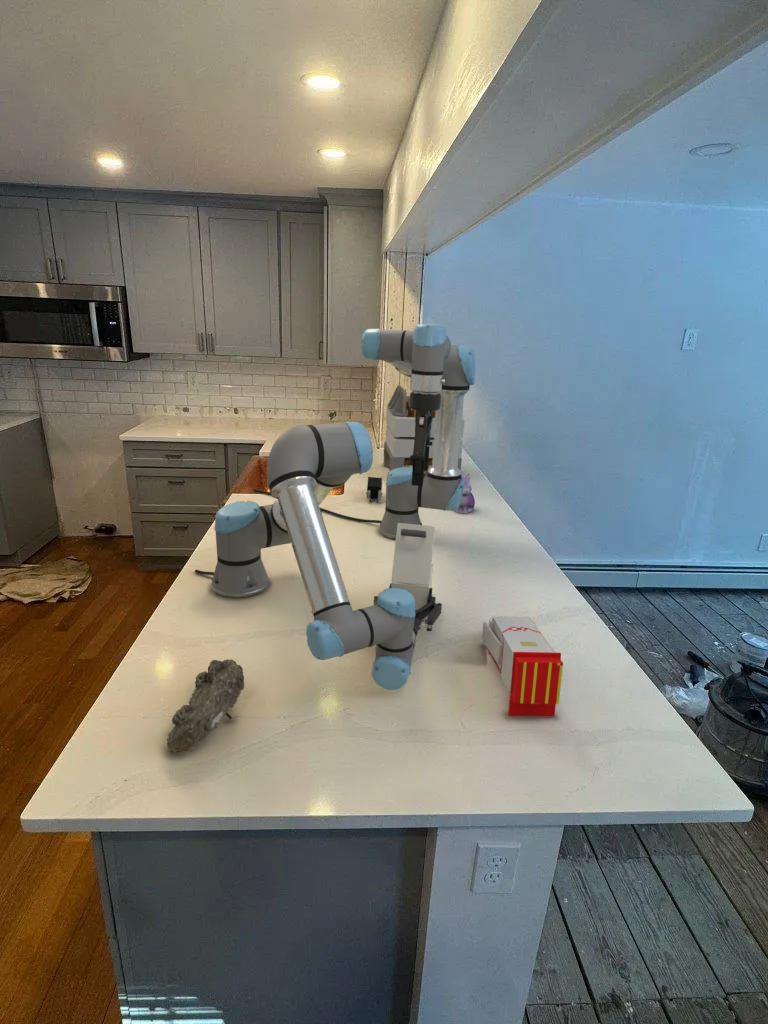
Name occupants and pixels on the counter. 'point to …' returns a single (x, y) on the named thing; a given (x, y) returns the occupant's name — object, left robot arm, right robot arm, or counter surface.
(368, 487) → the figurine character
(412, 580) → the lid
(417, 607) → the white cabinet body
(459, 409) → the right robot arm
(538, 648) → the toy
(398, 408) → the transformer
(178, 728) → the fossil
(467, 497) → the figurine
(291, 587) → the counter surface
